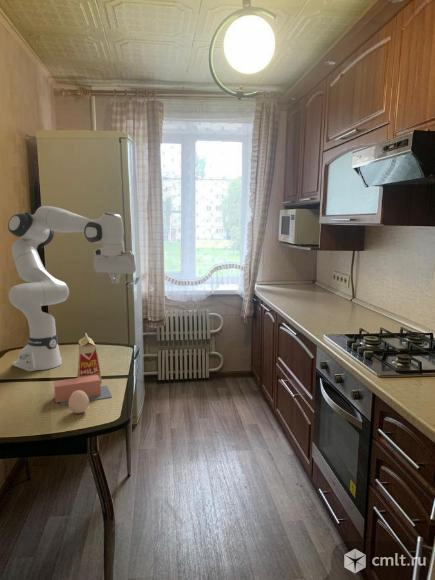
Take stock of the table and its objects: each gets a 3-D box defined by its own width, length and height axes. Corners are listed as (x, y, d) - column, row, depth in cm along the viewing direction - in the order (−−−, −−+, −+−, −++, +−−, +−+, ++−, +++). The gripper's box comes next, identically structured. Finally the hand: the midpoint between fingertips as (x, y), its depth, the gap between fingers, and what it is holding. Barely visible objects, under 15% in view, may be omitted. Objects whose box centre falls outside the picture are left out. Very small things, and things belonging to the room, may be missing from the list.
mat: (60, 405, 146) (60, 405, 146) (59, 393, 157) (59, 392, 157) (111, 397, 154) (111, 396, 153) (107, 386, 164) (106, 385, 164)
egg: (88, 415, 139) (87, 393, 138) (68, 417, 137) (66, 395, 136) (90, 407, 145) (89, 386, 144) (70, 409, 144) (69, 387, 143)
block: (54, 386, 148) (100, 380, 154) (53, 381, 153) (98, 374, 159) (55, 402, 149) (101, 395, 155) (55, 396, 154) (98, 389, 160)
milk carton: (76, 379, 172) (73, 333, 169) (99, 376, 176) (96, 330, 173) (78, 387, 164) (75, 338, 161) (102, 383, 167) (99, 335, 164)
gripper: (138, 251, 174) (139, 283, 176) (100, 250, 183) (102, 280, 185) (128, 252, 169) (130, 285, 171) (90, 251, 177) (92, 282, 179)
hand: (115, 283), depth 178 cm, fingers closed
